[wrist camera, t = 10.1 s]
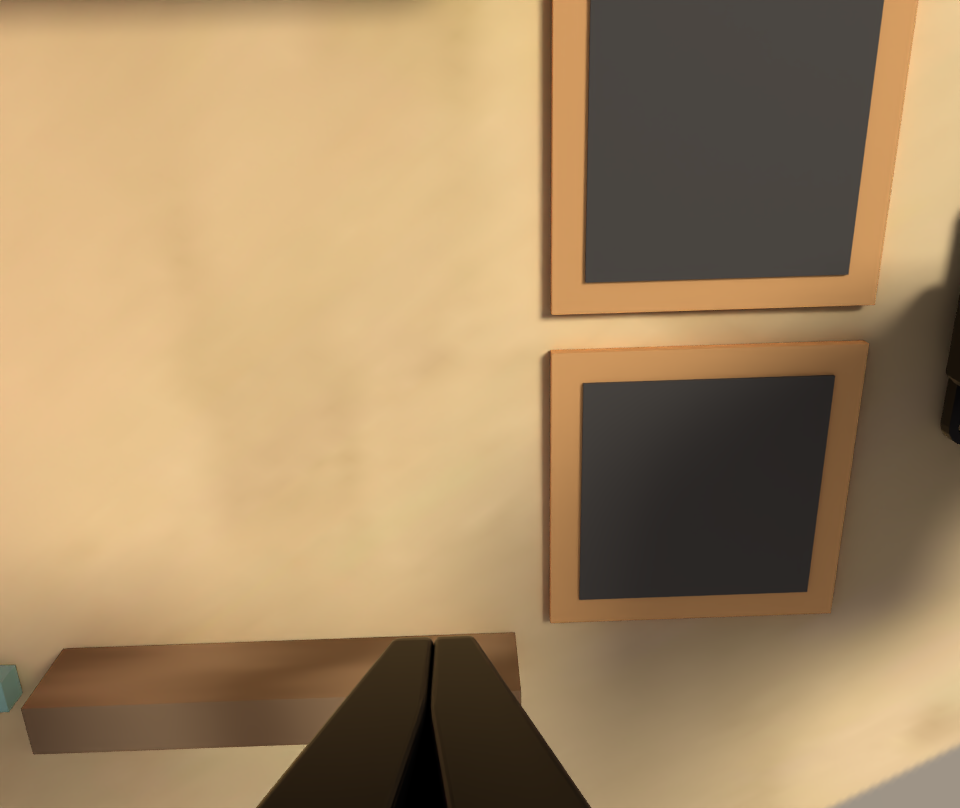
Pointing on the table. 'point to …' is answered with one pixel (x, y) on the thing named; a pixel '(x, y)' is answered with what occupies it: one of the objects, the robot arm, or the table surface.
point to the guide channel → (209, 692)
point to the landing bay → (9, 687)
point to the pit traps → (713, 293)
